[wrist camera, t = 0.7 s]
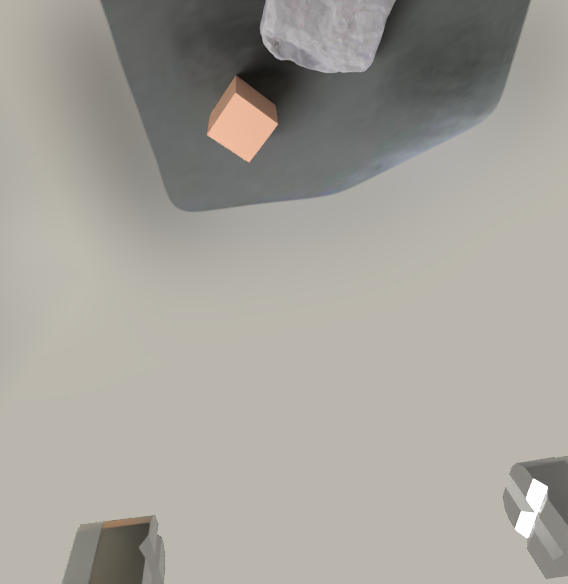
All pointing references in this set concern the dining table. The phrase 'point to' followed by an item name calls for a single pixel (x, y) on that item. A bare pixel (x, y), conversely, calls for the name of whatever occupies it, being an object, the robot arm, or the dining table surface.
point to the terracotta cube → (242, 119)
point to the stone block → (325, 32)
